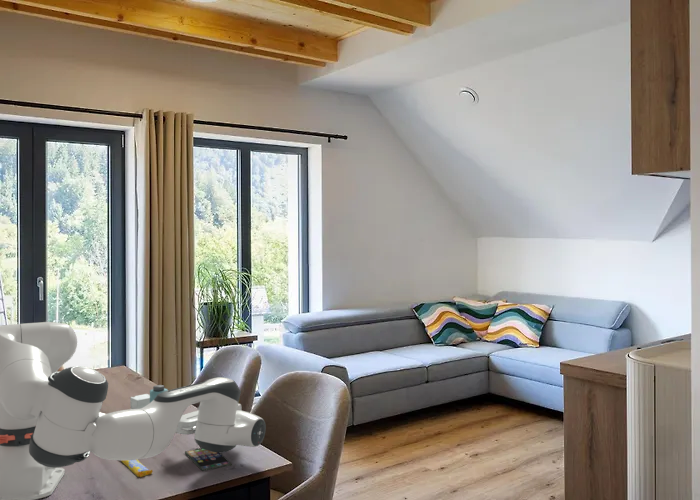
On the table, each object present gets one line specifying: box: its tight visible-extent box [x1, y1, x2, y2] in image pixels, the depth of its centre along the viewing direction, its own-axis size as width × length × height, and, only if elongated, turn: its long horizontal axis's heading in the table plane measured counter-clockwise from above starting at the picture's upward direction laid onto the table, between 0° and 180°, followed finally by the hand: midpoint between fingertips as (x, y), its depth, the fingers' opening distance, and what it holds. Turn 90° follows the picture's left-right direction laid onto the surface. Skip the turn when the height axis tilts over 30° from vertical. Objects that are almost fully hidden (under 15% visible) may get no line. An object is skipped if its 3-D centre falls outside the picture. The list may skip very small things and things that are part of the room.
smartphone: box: [184, 447, 233, 472], centre depth 174 cm, size 8×15×1 cm, turn 32°
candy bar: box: [120, 459, 154, 478], centre depth 168 cm, size 17×4×2 cm, turn 36°
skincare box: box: [129, 393, 150, 409], centre depth 211 cm, size 6×6×7 cm
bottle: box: [149, 384, 168, 403], centre depth 193 cm, size 5×5×15 cm
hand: (186, 413), depth 186 cm, fingers open, 8 cm apart
